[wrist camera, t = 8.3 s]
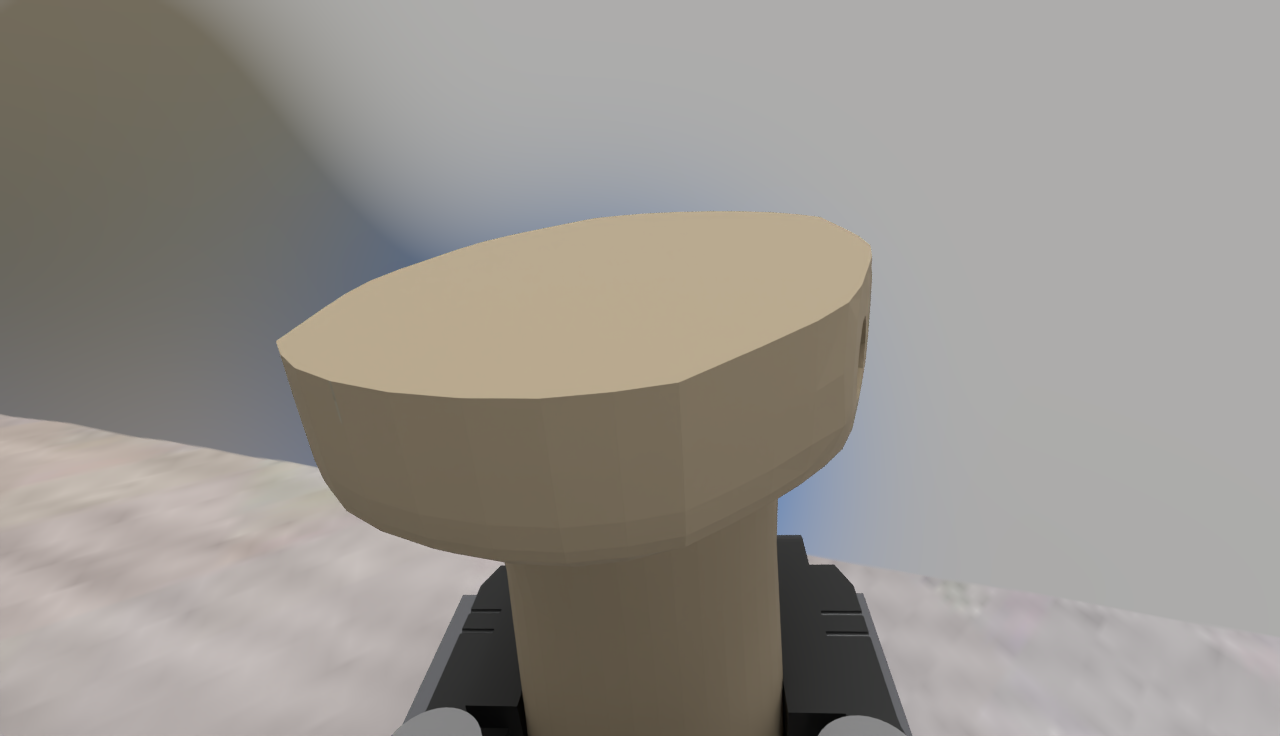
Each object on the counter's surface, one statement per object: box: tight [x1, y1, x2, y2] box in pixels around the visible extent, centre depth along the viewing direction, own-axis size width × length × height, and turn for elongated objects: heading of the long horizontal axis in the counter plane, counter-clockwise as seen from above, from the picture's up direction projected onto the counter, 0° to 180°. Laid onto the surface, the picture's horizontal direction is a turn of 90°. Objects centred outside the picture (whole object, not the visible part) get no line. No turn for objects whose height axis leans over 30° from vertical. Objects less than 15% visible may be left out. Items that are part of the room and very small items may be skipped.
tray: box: [403, 593, 912, 736], centre depth 27 cm, size 20×11×3 cm, turn 85°
